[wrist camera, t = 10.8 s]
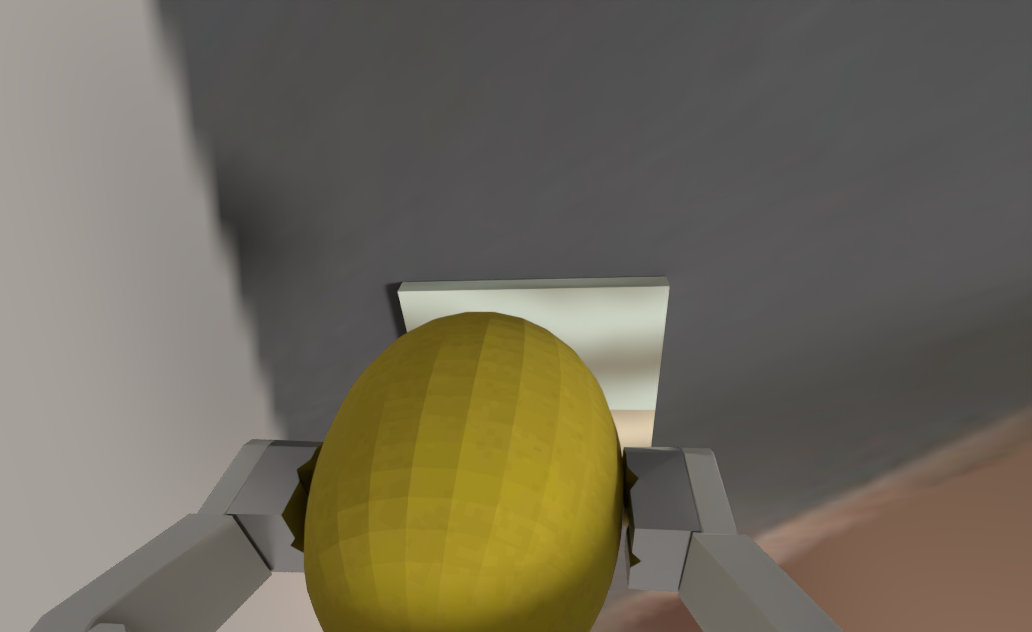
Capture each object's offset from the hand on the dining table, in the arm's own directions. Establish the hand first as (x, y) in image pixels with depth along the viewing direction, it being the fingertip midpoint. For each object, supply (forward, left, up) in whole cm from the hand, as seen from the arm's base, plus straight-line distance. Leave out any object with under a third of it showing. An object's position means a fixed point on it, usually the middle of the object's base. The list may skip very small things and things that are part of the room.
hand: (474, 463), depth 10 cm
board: (+14, 0, -17) cm, 22 cm away
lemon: (0, 0, -4) cm, 4 cm away
